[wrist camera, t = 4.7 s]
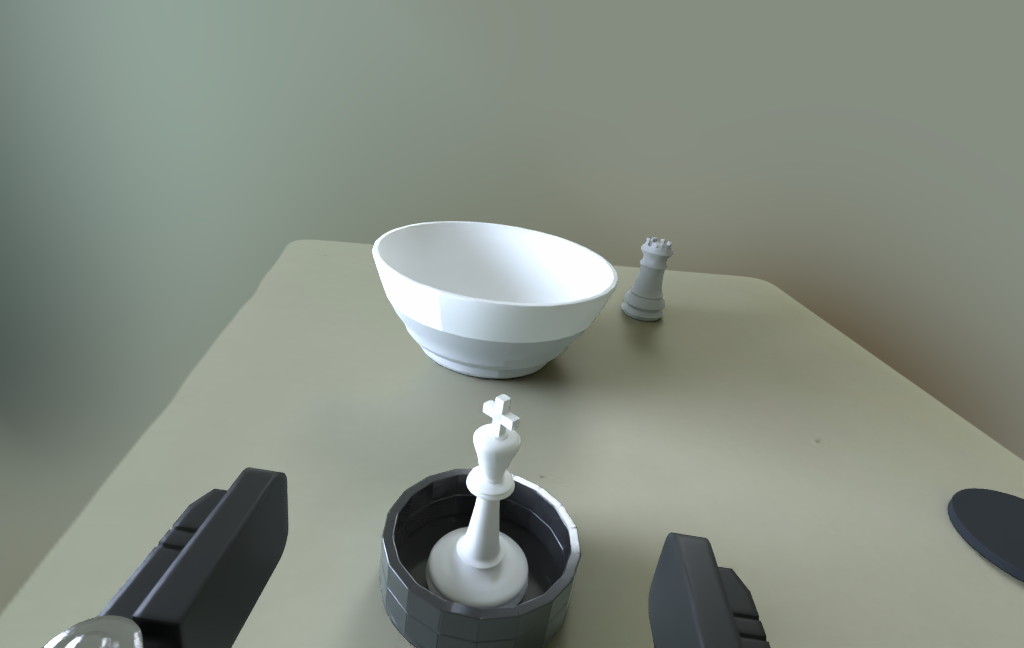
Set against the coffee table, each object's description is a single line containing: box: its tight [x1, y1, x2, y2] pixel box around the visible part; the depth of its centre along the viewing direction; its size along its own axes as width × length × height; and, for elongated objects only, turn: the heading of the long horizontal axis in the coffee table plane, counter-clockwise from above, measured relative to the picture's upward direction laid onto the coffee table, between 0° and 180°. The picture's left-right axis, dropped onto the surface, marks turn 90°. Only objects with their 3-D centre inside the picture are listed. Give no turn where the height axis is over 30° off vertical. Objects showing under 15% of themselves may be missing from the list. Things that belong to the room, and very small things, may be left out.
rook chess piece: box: [622, 237, 673, 321], centre depth 60 cm, size 4×4×8 cm
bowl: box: [372, 221, 618, 379], centre depth 48 cm, size 19×20×8 cm
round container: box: [380, 469, 581, 648], centre depth 28 cm, size 9×9×3 cm
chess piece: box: [426, 394, 528, 609], centre depth 26 cm, size 5×5×10 cm
